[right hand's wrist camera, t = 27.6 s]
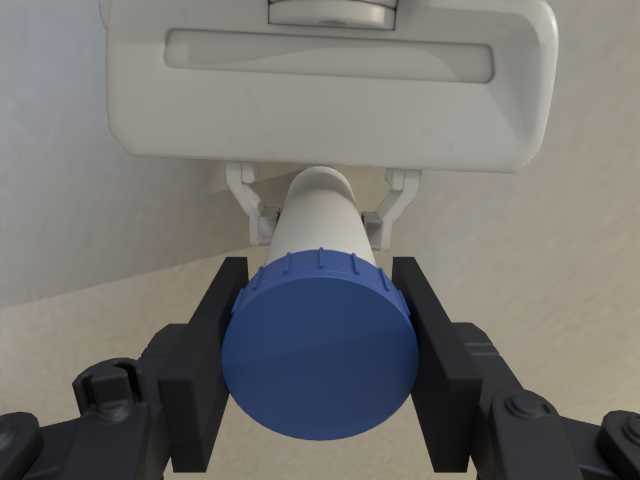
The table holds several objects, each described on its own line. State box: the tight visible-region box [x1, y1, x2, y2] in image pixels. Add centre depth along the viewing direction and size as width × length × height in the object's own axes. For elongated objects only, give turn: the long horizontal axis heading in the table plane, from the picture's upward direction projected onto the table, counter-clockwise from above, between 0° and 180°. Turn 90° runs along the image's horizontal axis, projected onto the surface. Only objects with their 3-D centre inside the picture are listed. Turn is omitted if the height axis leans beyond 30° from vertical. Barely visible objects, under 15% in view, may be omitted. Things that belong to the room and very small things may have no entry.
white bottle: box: [263, 166, 377, 268], centre depth 20 cm, size 5×5×17 cm
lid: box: [221, 247, 419, 441], centre depth 11 cm, size 6×6×2 cm
